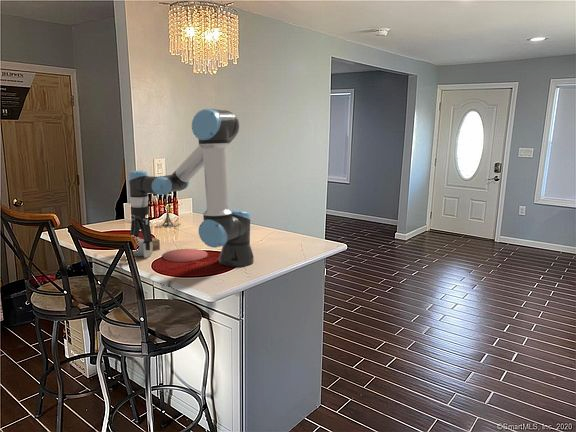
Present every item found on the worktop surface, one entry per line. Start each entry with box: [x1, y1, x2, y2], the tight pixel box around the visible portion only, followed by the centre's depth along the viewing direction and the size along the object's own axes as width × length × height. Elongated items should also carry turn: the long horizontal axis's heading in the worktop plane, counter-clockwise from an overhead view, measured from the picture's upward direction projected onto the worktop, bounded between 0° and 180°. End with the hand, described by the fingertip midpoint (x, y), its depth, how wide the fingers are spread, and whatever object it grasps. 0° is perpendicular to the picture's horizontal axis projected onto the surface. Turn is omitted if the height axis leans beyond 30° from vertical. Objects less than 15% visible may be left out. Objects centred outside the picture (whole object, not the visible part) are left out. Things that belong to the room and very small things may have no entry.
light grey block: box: [133, 238, 153, 257], centre depth 198 cm, size 11×8×8 cm
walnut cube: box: [152, 237, 161, 252], centre depth 209 cm, size 5×5×5 cm
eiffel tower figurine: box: [161, 204, 181, 228], centre depth 262 cm, size 15×10×13 cm
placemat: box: [162, 248, 208, 263], centre depth 200 cm, size 20×20×1 cm
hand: (141, 254), depth 197 cm, fingers closed on light grey block, 11 cm apart
